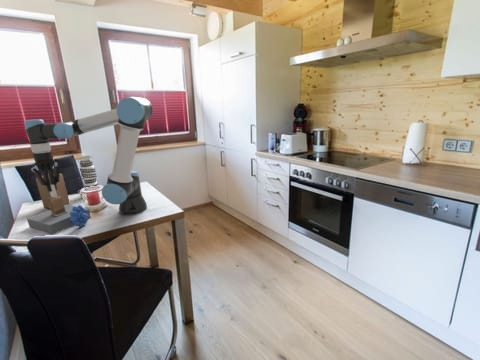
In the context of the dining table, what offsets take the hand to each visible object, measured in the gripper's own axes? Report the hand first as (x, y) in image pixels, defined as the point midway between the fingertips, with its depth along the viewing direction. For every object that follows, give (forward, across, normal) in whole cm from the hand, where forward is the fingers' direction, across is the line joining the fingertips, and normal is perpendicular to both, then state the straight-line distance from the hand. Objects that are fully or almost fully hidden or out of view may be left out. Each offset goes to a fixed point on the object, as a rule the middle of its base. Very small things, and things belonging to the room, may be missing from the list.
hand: (54, 196), depth 131 cm
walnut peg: (+15, 0, 0) cm, 15 cm away
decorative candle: (+15, -37, -26) cm, 48 cm away
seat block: (+15, 0, 0) cm, 15 cm away
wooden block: (+15, -14, -28) cm, 35 cm away
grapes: (+15, -1, +17) cm, 23 cm away
